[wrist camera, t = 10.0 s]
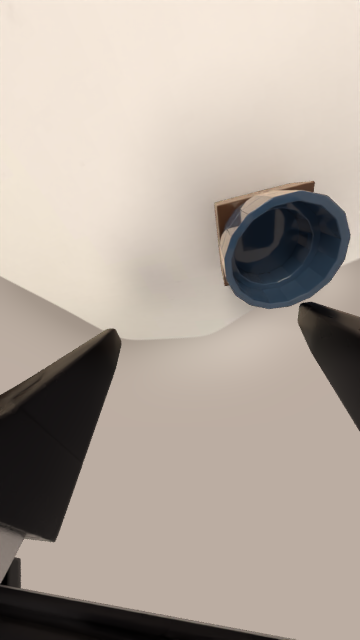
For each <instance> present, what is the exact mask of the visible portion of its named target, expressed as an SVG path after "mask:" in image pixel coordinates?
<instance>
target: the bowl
mask: <svg viewBox="0 0 360 640" xmlns="http://www.w3.org/2000/svg"><path fill="white" fill-rule="evenodd" d="M349 240H350V231H349V227H348V222H347V218H346V214H345V212H344V211H343V210H342V209H341V208H340V207H339V206H338V205H337V204H336V203H335V202H334V201H333V200H332V199H331V198H330V197H329V196H327V195H323V194H318V193H313V192H309V191H304V190H275V191H270V192H266V193H262V194H258V195H255V196H253V197H251V198H250V199H249V200H247V201H246V202H244V203H243V204H242V205H240V206H239V207H238V208H237V209H235V211H234V212H233V214H232V215H231V217H230V218H229V219H228V221H227V222H226V224H225V226H224V229H223V233H222V236H221V240H220V253H221V261H222V265H223V269H224V273H225V277H226V280H227V282H228V284H229V285H230V287H231V289H232V290H233V292H234V294H235V295H236V296H237V297H239V298H240V299H242V300H243V301H245V302H246V303H248V304H249V305H252V306H257V307H262V308H267V309H273V308H281V307H288V306H292V305H294V304H296V303H298V302H301V301H303V300H305V299H308V298H310V297H312V296H313V295H314V294H315V293H317V292H318V291H319V290H320V289H321V288H323V287H324V286H325V285H326V284H328V283H329V282H330V281H331V280H332V278H333V276H334V275H335V274H336V272H337V271H338V269H339V268H340V266H341V265H342V263H343V262H344V260H345V257H346V253H347V248H348V244H349Z"/></svg>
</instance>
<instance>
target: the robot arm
mask: <svg viewBox="0 0 360 640" xmlns="http://www.w3.org/2000/svg"><path fill="white" fill-rule="evenodd" d="M298 324H299V326H300V328H301V330H302V333H303V335H304V337H305V340H306V342H307V344H308V346H309V349H310V351H311V353H312V354H313V356H314V358H315V359H316V361H317V363H318V364H319V366H320V367H321V369H322V371H323V372H324V374H325V375H326V377H327V379H328V380H329V382H330V384H331V385H332V387H333V389H334V390H335V392H336V393H337V395H338V397H339V398H340V400H341V401H342V403H343V405H344V407H345V408H346V409H347V411H348V413H349V415H350V416H351V418H352V419H353V421H354V423H355V424H356V426H357V428H358V429H359V431H360V317H358V316H355V315H352V314H349V313H345V312H342V311H339V310H336V309H333V308H329V307H326V306H323V305H320V304H317V303H313V302H307V303H302V304H300V306H299V314H298ZM120 348H121V340H120V337H119V335H118V333H117V331H116V330H115V329H107V330H105V331H103V332H102V333H100V334H99V335H97V336H95V337H94V338H92V339H91V340H89V341H87V342H86V343H84V344H83V345H81V346H79V347H78V348H76V349H75V350H73V351H72V352H70V353H68V354H67V355H65V356H64V357H62V358H61V359H59V360H57V361H56V362H54V363H53V364H51V365H49V366H48V367H46V368H45V369H43V370H41V371H40V372H38V373H37V374H35V375H34V376H32V377H30V378H29V379H27V380H26V381H24V382H22V383H20V384H19V385H17V386H15V387H14V388H12V389H10V390H8V391H7V392H5V393H3V394H1V395H0V640H295V639H290V638H284V637H279V636H273V635H268V634H263V633H258V632H252V631H247V630H241V629H236V628H231V627H225V626H220V625H214V624H209V623H204V622H199V621H193V620H188V619H182V618H177V617H171V616H166V615H161V614H156V613H150V612H145V611H139V610H134V609H129V608H123V607H118V606H112V605H107V604H101V603H96V602H91V601H86V600H80V599H75V598H69V597H64V596H59V595H53V594H47V593H42V592H37V591H32V590H26V589H21V582H20V581H21V569H20V568H21V567H20V565H21V562H20V558H15V555H16V553H17V551H18V549H19V547H20V545H21V544H22V541H23V540H24V539H32V540H40V541H49V542H55V540H56V538H57V536H58V533H59V531H60V528H61V525H62V522H63V519H64V516H65V514H66V511H67V508H68V505H69V502H70V499H71V496H72V493H73V490H74V488H75V485H76V482H77V479H78V476H79V473H80V470H81V468H82V464H83V461H84V459H85V456H86V453H87V450H88V447H89V444H90V441H91V439H92V436H93V433H94V430H95V427H96V424H97V421H98V418H99V415H100V413H101V410H102V407H103V404H104V401H105V398H106V395H107V392H108V390H109V387H110V384H111V381H112V378H113V375H114V372H115V369H116V366H117V361H118V357H119V353H120Z"/></svg>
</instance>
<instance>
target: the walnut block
mask: <svg viewBox="0 0 360 640" xmlns="http://www.w3.org/2000/svg"><path fill="white" fill-rule="evenodd" d="M314 184H315V182H314V181H310V182H299V183H289V184H286V185H282V186H278V187H274V188H270V189H266V190H262V191H258V192H254V193H250V194H246V195H242V196H239V197H235V198H231V199H227V200H223V201H219V202H215V203H214V207H215V216H216V225H217V235H218V244H219V253H220V240H221V236H222V233H223V229H224V226H225V224H226V222H227V221H228V219H229V218H230V217H231V215H232V214H233V212H234V211H235V209H237V208H238V207H239V206H240V205H242V204H243V203H244V202H246V201H247V200H249V199H250V198H251V197H253V196H255V195H258V194H262V193H266V192H270V191H275V190H304V191H309V192H314ZM220 262H221V270H222V275H223V280H224V284H225V286H229V284H228V282H227V280H226V277H225V273H224V269H223V265H222V261H221V253H220Z"/></svg>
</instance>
